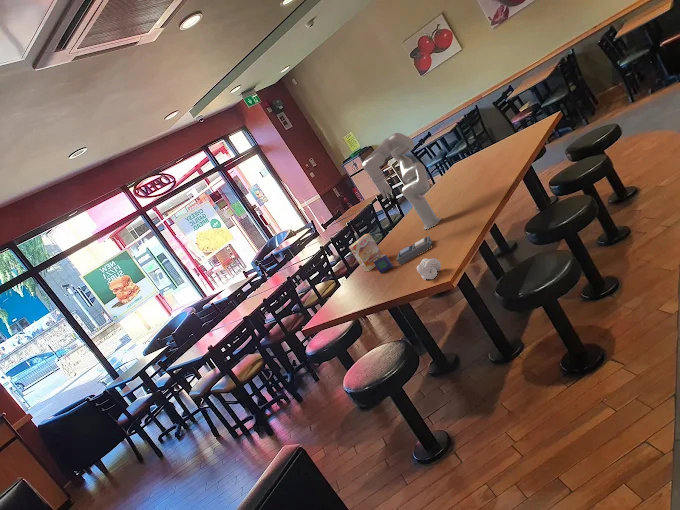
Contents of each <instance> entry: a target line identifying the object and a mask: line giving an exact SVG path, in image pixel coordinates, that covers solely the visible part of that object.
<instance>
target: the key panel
mask: <svg viewBox="0 0 680 510" xmlns="http://www.w3.org/2000/svg"><path fill="white" fill-rule="evenodd" d="M423 238H424V239H425V240H426V242H427V243H425V244H423V245H422V246H420V247H418V248H415V243H413V244H412V245H409V246H410V248H411V249H412V251H411V252H409V253H407V254H405V255H403V256H402V257H401V255H400V251H399V252H398V253H397V257H396V261H397V264H399V265H400V266H402V265H404V264H405V263H407V262H409V261H411V260H412V258H413V257H415V256H417V255H418V254H420V253H422V252H424V251H426V250H427V249H429V248H431V246H432V247H433V240H432V239H431V237H430V235H427V236H426V237H423ZM431 249H432V248H431ZM429 250H430V249H429ZM426 252H427V251H426ZM424 253H425V252H424ZM422 254H423V253H422ZM420 255H421V254H420ZM418 256H419V255H418ZM418 256H417V257H418ZM415 258H416V257H415ZM410 259H411V260H410ZM413 259H414V258H413ZM408 260H409V261H408ZM406 261H407V262H406ZM403 263H404V264H403ZM401 264H402V265H401Z"/></svg>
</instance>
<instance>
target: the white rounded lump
mask: <svg viewBox="0 0 680 510" xmlns="http://www.w3.org/2000/svg"><path fill="white" fill-rule="evenodd" d="M441 268H442V264H441V261H440V260H439V259H437V258H434V257H433V258H423V259H422V260H421V261H420V263H419V264H418V265H417V266H416V271H417V273H418V274H419V275H420V276H421V278H422V279H423V280H424V281H427V280H434V278H435V277H436V276H437V277H438V275H439V272H440V270H441ZM437 271H438V272H437ZM437 274H438V275H437ZM437 277H436V278H437ZM436 278H435V279H436ZM426 279H427V280H426Z"/></svg>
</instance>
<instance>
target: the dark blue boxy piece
mask: <svg viewBox="0 0 680 510" xmlns="http://www.w3.org/2000/svg"><path fill="white" fill-rule="evenodd" d="M373 263H374V264H375V267H376V269H377V270H378V272H379V273H380V274H381V275H382V274H384V273H387V272H388V271H390V270H391V269H392V268H393V269H394V265H393V263H392V262H391V260H390V259H389V256H387V254H383V256H381V257H379V255H378V256H377V259H375V260H374V261H373Z"/></svg>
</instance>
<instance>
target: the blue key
mask: <svg viewBox="0 0 680 510" xmlns="http://www.w3.org/2000/svg"><path fill="white" fill-rule="evenodd" d="M410 246H411V245H409V246H407V247H404V248H403V249H401V250H400V251H399V252H400V255H401V257H402V256H403V255H405V254H407V253H409V252H411V251H412V249H411V248H410Z"/></svg>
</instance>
